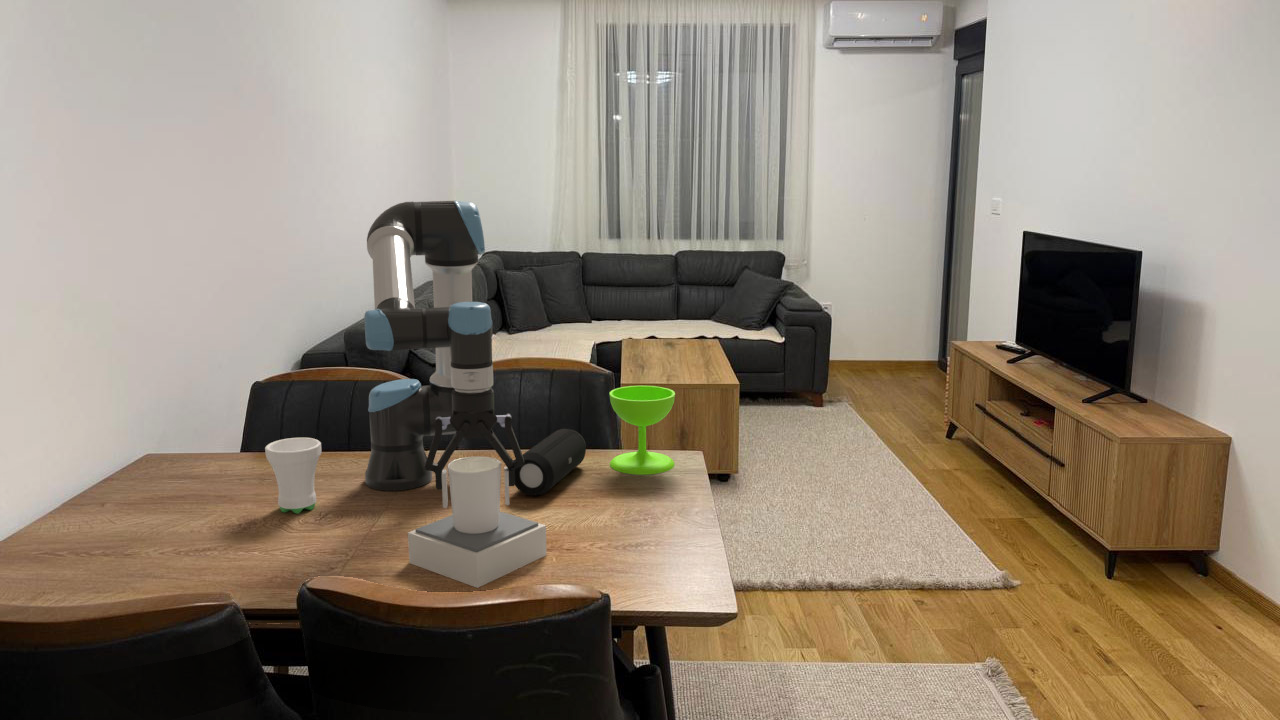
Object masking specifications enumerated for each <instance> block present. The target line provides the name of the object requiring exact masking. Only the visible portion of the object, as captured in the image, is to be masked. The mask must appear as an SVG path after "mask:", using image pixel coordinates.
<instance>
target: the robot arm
mask: <svg viewBox="0 0 1280 720" xmlns="http://www.w3.org/2000/svg"><path fill="white" fill-rule="evenodd" d="M366 249H367V250H366V251H367V252H368V255H369V257H370V258H371V260H372V276H373V298H374V302H373V303H374V309H372V310H371V309H369V310H367V311H365V313H364V316H363V317H364V334H365V345H366V348H367V349H369V350H372V351H386V352H391V351H396V350H397V351H398V350H399V351H401V350H413V349H414V350H415V349H416V350H417V349H435V372H433V373H432V374H431V376H430V377H429V385H422V383H421V382H420V381H419V380H418V379H415V378H401V379H395V380H391V381H387V382H383V383H380V384H378V385H376V386H375V387H373V388H372V389H371V390H370V392H369V393H368V394H369V395H368V408H367V411H368V412H369V429H370V431H369V432H370V449H371V451H370V454H369V459H368V462H367V467H366V471H364V472H365V474H364V478H365V479H364V482H365V485H366V486H367V487H368V488H370V489H374V490H378V491H405V490H412V489H416V488H419V487H422V486H425V485H427V484H429V483H430V482H431V481H432V479H433V473H434V476H435V488H436V490H439V491H440V490H441V492H442V494H441V495H442V508H443V509H447V508H448V505H449V499H448V497H449V496H448V495H449V494H448V475H447V471H448V468H447V469H446V468H445V467H446V466H447V465H448V464H447V463H448V462H449V461H450V459H451V457H452V455H453V454H454V452H455V450H456V449H457V447H458V445H459V444H460V443H461V441H462V440H463V439H464V440H472V439H476V440H477V439H478V440H482V439H484V438H485V439H486V440H487V442H489V444H490V445H491V447H492V448H493V449H494V451H495V452H496V454H497V455H498V457H500V459H501V461H502V462H503V463H504V465H505V466H504V468H503V469H504V474H503V475H504V499H505V501H504V502H505V503H504V505H505V506H510V487H515V469H516V468H518V467H522V466H524V458H523V452H522V451H521V448H520V444H519V442H518V439H517V437H516V434H515V432H514V429H513V426H512V421H513V420H512V415H511V413H506V414H503V415H502V414H500V415H497V413H496V412H495V400H494V399H495V394H494V393H495V392H494V389H493V388H492V387H493V386H494V364H493V345H492V344H493V340H492V339H493V336H492V335H493V334H492V333H493V332H492V331H493V330H492V328H493V320H492V311H491V307H490V305H489V304H487V303H486V302H480V301H473V279H472V277H473V276H472V275H473V273H472V270H473V269H474V268H475V266H477V265H478V263H479V255H480V256H481V255H483V254H485V252H486V246H485V237H484V231H483V224H482V221H481V214H480V212H479V209H478V207H477V205H476V204H475V203H474V202H471V201H461V200H439V201H437V200H433V201H404V202H400V203H397V204H394V205H392V206H390V207H389V208H387V209H385V210H384V211H383V212H382V213H381V214H379V216H377V217H376V219H375V220H374V221H373V223H372V224H371V226H370V227H369V230H368V232H367V237H366ZM412 256H424V262H425V265H427V267H429V269H430V270H431V271H432V291H433V307H421V308H420V307H418V308H416V305H415V293H414V292H415V291H414V283H413V273H412V264H411V257H412ZM497 423H499V425H500V427H502V428H504V429H505V430H504V431H505V434H506V437H507V440H508V442H509V444H510V447H511V449H512V453H513V455H514V458H515V459H513V458H512V457H511V455H510V454H509V452H508V451H507V450H506V449H505V447H504V445H503V444H502V443H501V441H500V440H499V438H498V437H497V435H496V434H495V432H494V430H493V428H494V426H495V425H496V424H497ZM442 435H453V437H452V438H451V440H450V441H449V443H448V445H447V446H446V447H445V450H444V452H443V453H442V455H441V456H440V458H439V460H438V461H437V463H436V462H435V459H436V458H435V457H436V455H437V452H438V450H439V449H438V448H439V445H440V442H441V438H442ZM424 436H425V437H426V436H427V437H428V436H430V437H431V436H433V438H432V442H431V444H430V446H429V452H428V454H426V452H425V449H424V448H425V447H424V441H423V437H424ZM444 468H445V469H444ZM432 472H433V473H432Z"/></svg>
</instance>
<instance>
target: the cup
mask: <svg viewBox="0 0 1280 720" xmlns="http://www.w3.org/2000/svg"><path fill="white" fill-rule="evenodd" d="M264 450H265V457H266V461H268V462H269V464H270V466H271V467H272V470H273V473H274V476H275V479H276V483H277V489H278V497H277V502H278V503H277V504H278V506H279V509H280V511H281V512H282V513H289V511H292V513H294V514H297V515H299V514H300V513H302V511H303V510H304V509H305V510H307V511H312V510H314V509H315V506H316V503H317V493H316V491H315V478H316V477H315V476H316V475H315V474H316V469H317V465H318V461H319V458H320V456H322V442H321V441H320V440H318V439H317V438H316V439H315V438H312V437H291V438H284V439H283V438H282V439H279V440H275V441H273V442H270V443H268V444H267V445H266V446H265V447H264Z"/></svg>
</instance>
